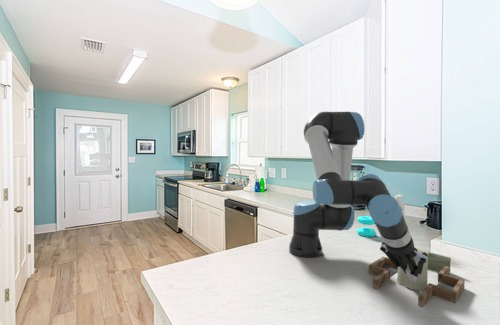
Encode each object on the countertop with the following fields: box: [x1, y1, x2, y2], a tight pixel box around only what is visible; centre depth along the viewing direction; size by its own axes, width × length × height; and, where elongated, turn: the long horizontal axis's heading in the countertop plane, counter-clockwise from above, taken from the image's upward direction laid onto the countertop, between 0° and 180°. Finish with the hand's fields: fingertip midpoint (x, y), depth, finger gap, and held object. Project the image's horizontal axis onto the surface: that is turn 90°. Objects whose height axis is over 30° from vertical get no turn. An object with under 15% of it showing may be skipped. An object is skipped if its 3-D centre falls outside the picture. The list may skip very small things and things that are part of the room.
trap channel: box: [368, 251, 465, 307], centre depth 93 cm, size 35×26×6 cm
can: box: [396, 247, 429, 291], centre depth 90 cm, size 9×9×12 cm
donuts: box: [356, 215, 377, 238], centre depth 147 cm, size 10×10×10 cm
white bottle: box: [394, 194, 406, 217], centre depth 132 cm, size 9×6×25 cm
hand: (413, 278), depth 85 cm, fingers closed
